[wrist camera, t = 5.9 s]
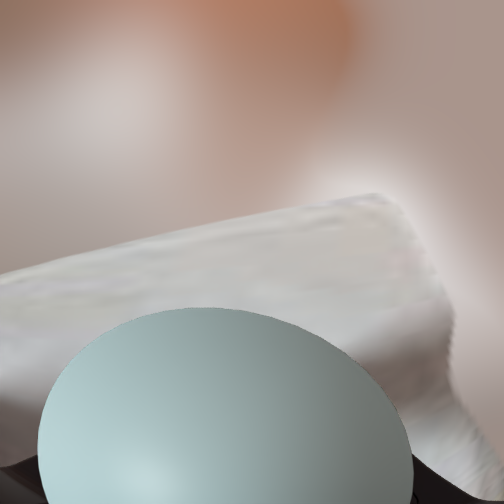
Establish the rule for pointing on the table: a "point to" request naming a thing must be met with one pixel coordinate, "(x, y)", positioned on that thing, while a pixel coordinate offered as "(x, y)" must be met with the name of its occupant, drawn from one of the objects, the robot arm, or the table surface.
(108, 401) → the column
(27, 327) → the table surface
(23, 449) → the table surface
